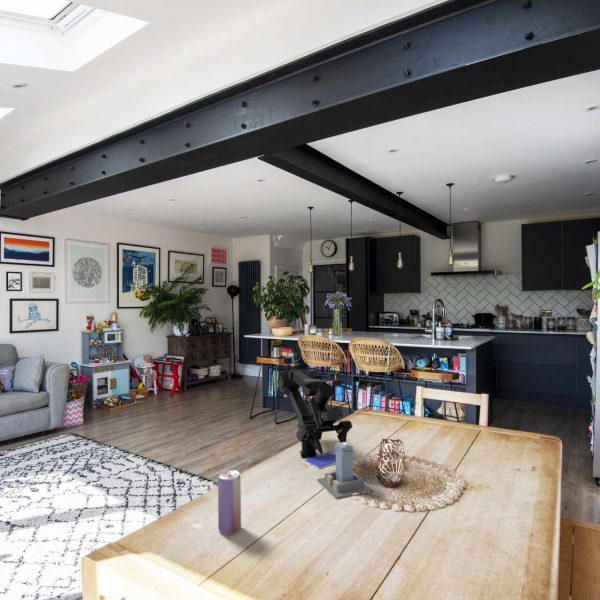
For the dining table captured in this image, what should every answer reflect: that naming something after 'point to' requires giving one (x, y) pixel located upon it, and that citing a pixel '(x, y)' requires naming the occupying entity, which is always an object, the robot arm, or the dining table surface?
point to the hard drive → (322, 460)
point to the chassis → (343, 485)
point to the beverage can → (229, 502)
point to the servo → (344, 462)
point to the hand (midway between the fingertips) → (333, 452)
